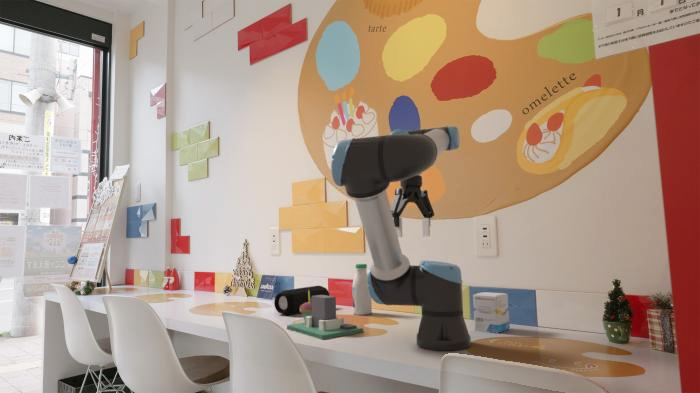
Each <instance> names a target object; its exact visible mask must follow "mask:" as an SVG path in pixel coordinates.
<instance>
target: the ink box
mask: <svg viewBox="0 0 700 393" xmlns="http://www.w3.org/2000/svg"><path fill="white" fill-rule="evenodd" d="M508 296H509V295H508V293H504V292H487V291H483V292H477V293H476V294H475V293H474V294H472V301H473V303H472V304H473V318H474V321H473V322H474V331H476V330H481V331H480V332H484V331H490V332H489V333H492V332H498V333H497V334H500V333H499V332H501V333H503V332H502V331H504V332H505V330H506V331H508V330H507V329H509V328H511V327H510V325H511V324H510V314H509V312H510V310H509V298H508ZM509 330H510V329H509Z"/></svg>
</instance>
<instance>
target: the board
mask: <svg viewBox="0 0 700 393" xmlns="http://www.w3.org/2000/svg"><path fill="white" fill-rule="evenodd" d="M344 322H345V321H344V317H340V316H338V317H337V316H336V319H331V320H325V321H324V320H319V328H318V327H314V326H312V316H307V317H305V320H304V322H299V323H292V324H286V325H287V326H286V329H287V330H290V331H293V332H297V333H300V334H303V335H307V336H308V337H309V336H310V337H313V338H317V339H320V340H328V339H331V338H333V339H334V338H337V337H342V336H348V335H352V334H353V335H354V334H361V333H363V332H364V328H363V327H360V326H359V327H358V326H357V325H355V324H352V323H344Z"/></svg>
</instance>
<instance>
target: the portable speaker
mask: <svg viewBox="0 0 700 393" xmlns="http://www.w3.org/2000/svg"><path fill="white" fill-rule="evenodd" d="M308 289H309V291H310V302H312V296H316V295H327V296H331V295H330V292H329V289H327V288H326V287H324V286H323V285H312V286H306V287H305V286H304V287H298V288H293V289H292V288H291V289H284V290H281V291H280V292H278V293H277V295H276V296H275V298H274V302H273V304H274V308H275V309H276V311H277V312H278V314H280V315H284V316H285V315H286V316H290V315H295V314H299V313H301V312H300V306H301V305H302V304H304V303H306V302H309V300H308Z"/></svg>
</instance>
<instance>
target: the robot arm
mask: <svg viewBox="0 0 700 393" xmlns="http://www.w3.org/2000/svg"><path fill="white" fill-rule="evenodd" d="M459 132H460V131H459V129H458V127H457V126H455V125H452V126H448V125H447V126H442V127H441V126H440V127H433V128H424V129H414V130H404V129H402V128H397V129H394V130H393V131H392V132H391V133H390V134H387V135H376V136H368V137H357V138H355V137H353V138H351V139H345V140H341V141H339V142H338V143H336V145H335V147H334V149H333V152H332V154H331V155H332V157H331V164H330V168H331V177H332V180H333V183H334V184H335V185H336V186H338V187H344V188H345V191H346V195H347V196H349V198H351V199H354V201H355V202H354V203H355V205H356V208H357V211H358V214H359V218H360V222H361V225H362V228H363V231H364V234H365V238H366V241H367V245H368V249H369V251H370V255H371V258H372V263H371V265H370V267H369V270H368V271H367V283H368V291H369V294H370V296H371V300H372V301H373V302H375V303H376V304H378V305H384V306H385V305H386V306H409V307H411V306H414V307H420V308H421V319H420V321H419V322H420V323H419V326H418V327H419V328H418V332H417V333H416V345H417V346H418V347H420V348H423V349H427V350H432V351H433V350H434V351H460V350H466V349H469V348H470V347H471V346H472V342H471V341H472V339H471V335H470V333H469V330H468V327H467V324H466V321H465V318H464V303H463V302H464V301H463V279H462V271H461V268H460V266H458V265H457V264H454V263H449V262H443V261H436V260H435V261H434V260H421V261H420V263H418V264H419V265H411V264H410V263H411V262H410V260H409V258H408V257H407V256H406V254H403V252H402V249H401V248H402V247H401V246H400V245H401V244H400V240H399V238H403V217H402V216H401V215H402V213H403V212H404V210H405V209H406V207H407V205H408V204H409V203H412V204H415V205H416V206H417V208H418V210H419V211H420V213H421V214H422V217H423V218H422V220H421V222H422V223H421V225H422V237H431V218H433V217H434V216H435V212H434V209H433V206H432V204H431V201H430V198H429V195H428V190H427V189H424V190H421V187H422V186H423V177H422V174H423V172H425V171H427V170H429V169H430V168H431V167H432V166H433V165H434V164H435V163H436V161H437V158H438V157H439V156H440V155H441V154H442V153H443V152H445V151H454V150H457V149H459V148H460V133H459ZM394 182H395V183H397V182H400V184H399V185H400V187H399V188H395V189H394V196H393V199H392V202H391V205H390V201H389V197H388V192H387V190H388V189H389V187H390V184H391V183H394Z"/></svg>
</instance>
